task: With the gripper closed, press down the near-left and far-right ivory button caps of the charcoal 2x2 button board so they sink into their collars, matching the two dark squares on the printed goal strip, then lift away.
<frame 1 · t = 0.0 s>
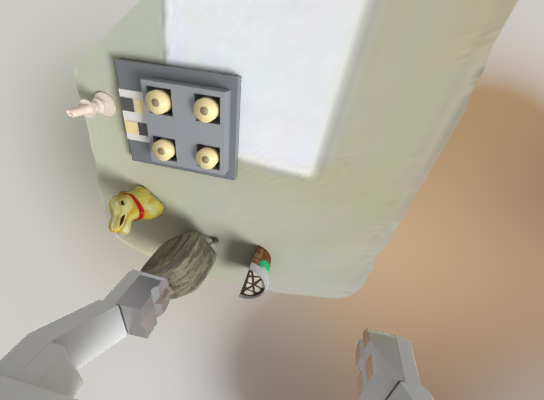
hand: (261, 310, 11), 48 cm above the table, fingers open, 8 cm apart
chocolate bunny: (148, 198, 73), on the table
button d: (164, 149, 58), point 5 cm above the table, slide at 0.0 cm
board: (183, 121, 60), on the table
tabletop clock: (197, 237, 77), on the table
food container: (264, 260, 76), on the table
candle: (106, 103, 61), on the table
button a: (206, 109, 52), point 5 cm above the table, slide at 0.0 cm
button b: (207, 157, 57), point 5 cm above the table, slide at 0.0 cm
button c: (158, 101, 53), point 5 cm above the table, slide at 0.0 cm
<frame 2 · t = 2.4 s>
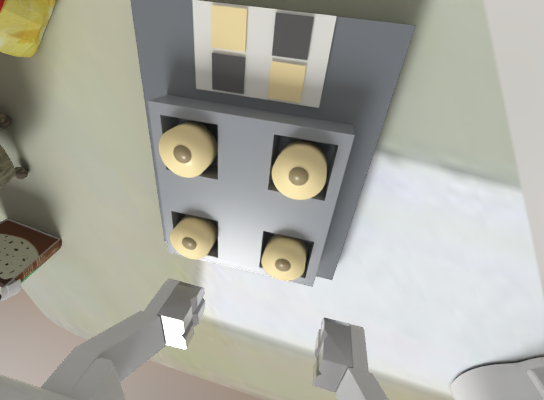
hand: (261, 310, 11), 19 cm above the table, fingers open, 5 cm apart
button d: (188, 149, 24), point 5 cm above the table, slide at 0.0 cm
board: (256, 158, 29), on the table
tabletop clock: (3, 125, 34), on the table
food container: (39, 241, 45), on the table
button a: (284, 257, 28), point 5 cm above the table, slide at 0.0 cm
button b: (194, 236, 29), point 5 cm above the table, slide at 0.0 cm
button c: (300, 170, 22), point 5 cm above the table, slide at 0.0 cm
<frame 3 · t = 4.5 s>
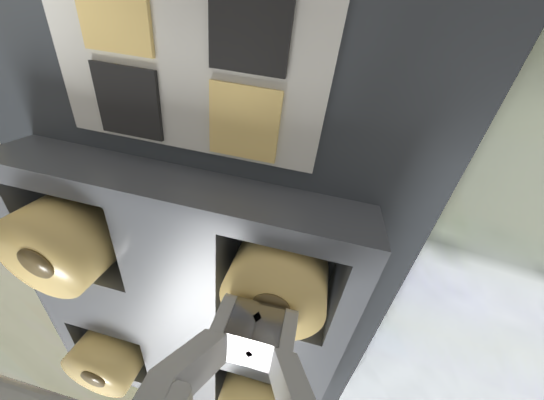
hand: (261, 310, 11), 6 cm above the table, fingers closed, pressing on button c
button d: (60, 245, 12), point 5 cm above the table, slide at 0.0 cm
board: (210, 234, 17), on the table
button b: (107, 359, 18), point 5 cm above the table, slide at 0.0 cm
button c: (276, 285, 12), point 4 cm above the table, slide at 0.8 cm, touching gripper
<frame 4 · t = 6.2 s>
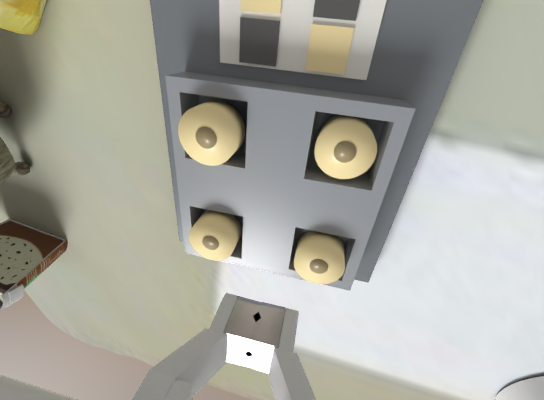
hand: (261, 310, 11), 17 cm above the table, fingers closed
button d: (212, 133, 20), point 5 cm above the table, slide at 0.0 cm
board: (285, 145, 25), on the table
tabletop clock: (3, 116, 31), on the table
food container: (43, 243, 42), on the table
button a: (319, 257, 24), point 5 cm above the table, slide at 0.0 cm
button b: (215, 234, 26), point 5 cm above the table, slide at 0.0 cm
button c: (344, 146, 20), point 4 cm above the table, slide at 1.6 cm
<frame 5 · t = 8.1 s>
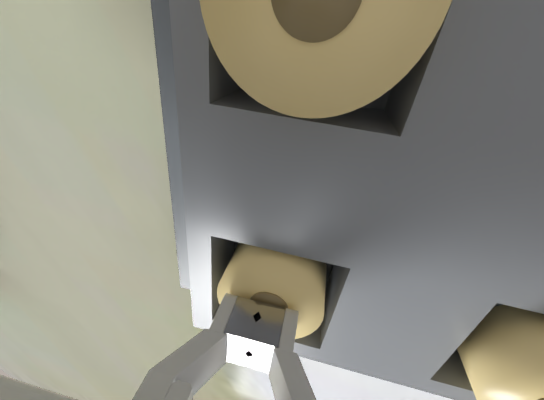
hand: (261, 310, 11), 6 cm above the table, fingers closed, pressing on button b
board: (444, 94, 10), on the table
button a: (537, 372, 10), point 5 cm above the table, slide at 0.0 cm
button b: (274, 284, 12), point 4 cm above the table, slide at 1.0 cm, touching gripper
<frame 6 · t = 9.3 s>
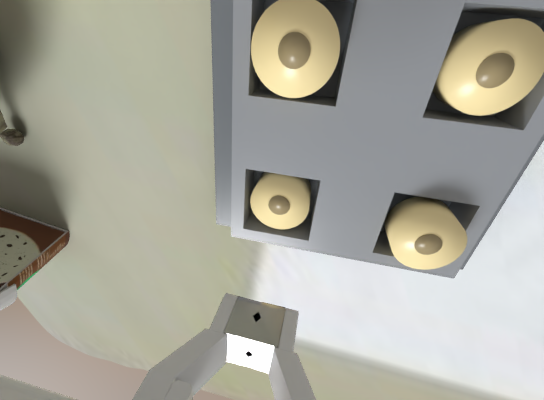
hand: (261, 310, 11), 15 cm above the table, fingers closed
button d: (296, 50, 14), point 5 cm above the table, slide at 0.0 cm
board: (369, 88, 19), on the table
food container: (40, 236, 35), on the table
button a: (422, 233, 18), point 5 cm above the table, slide at 0.0 cm
button b: (281, 197, 21), point 4 cm above the table, slide at 1.6 cm
button c: (482, 69, 14), point 4 cm above the table, slide at 1.6 cm
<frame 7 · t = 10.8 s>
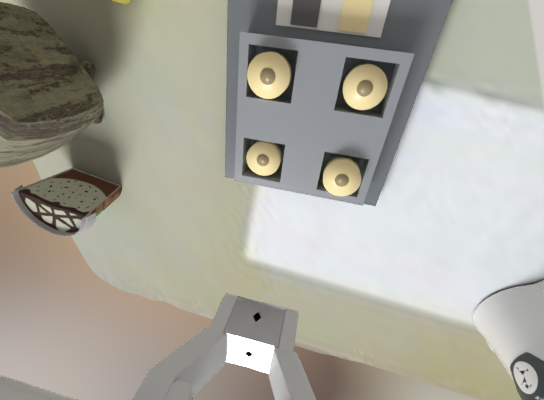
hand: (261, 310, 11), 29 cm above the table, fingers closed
button d: (270, 75, 28), point 5 cm above the table, slide at 0.0 cm
board: (316, 93, 33), on the table
tabletop clock: (85, 74, 38), on the table
food container: (99, 190, 49), on the table
button a: (341, 176, 33), point 5 cm above the table, slide at 0.0 cm
button b: (264, 156, 35), point 4 cm above the table, slide at 1.6 cm
button c: (363, 86, 29), point 4 cm above the table, slide at 1.6 cm
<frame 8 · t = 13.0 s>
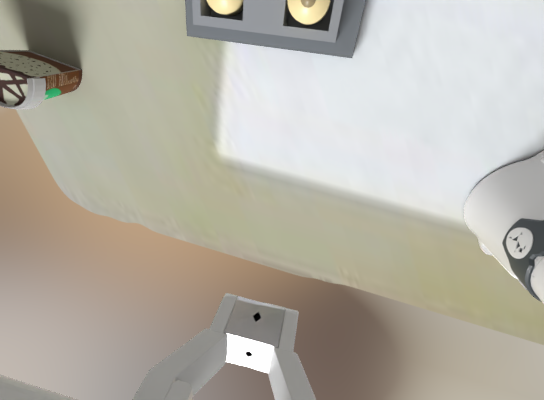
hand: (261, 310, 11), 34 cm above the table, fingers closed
food container: (59, 79, 46), on the table
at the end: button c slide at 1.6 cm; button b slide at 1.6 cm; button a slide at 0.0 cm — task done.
